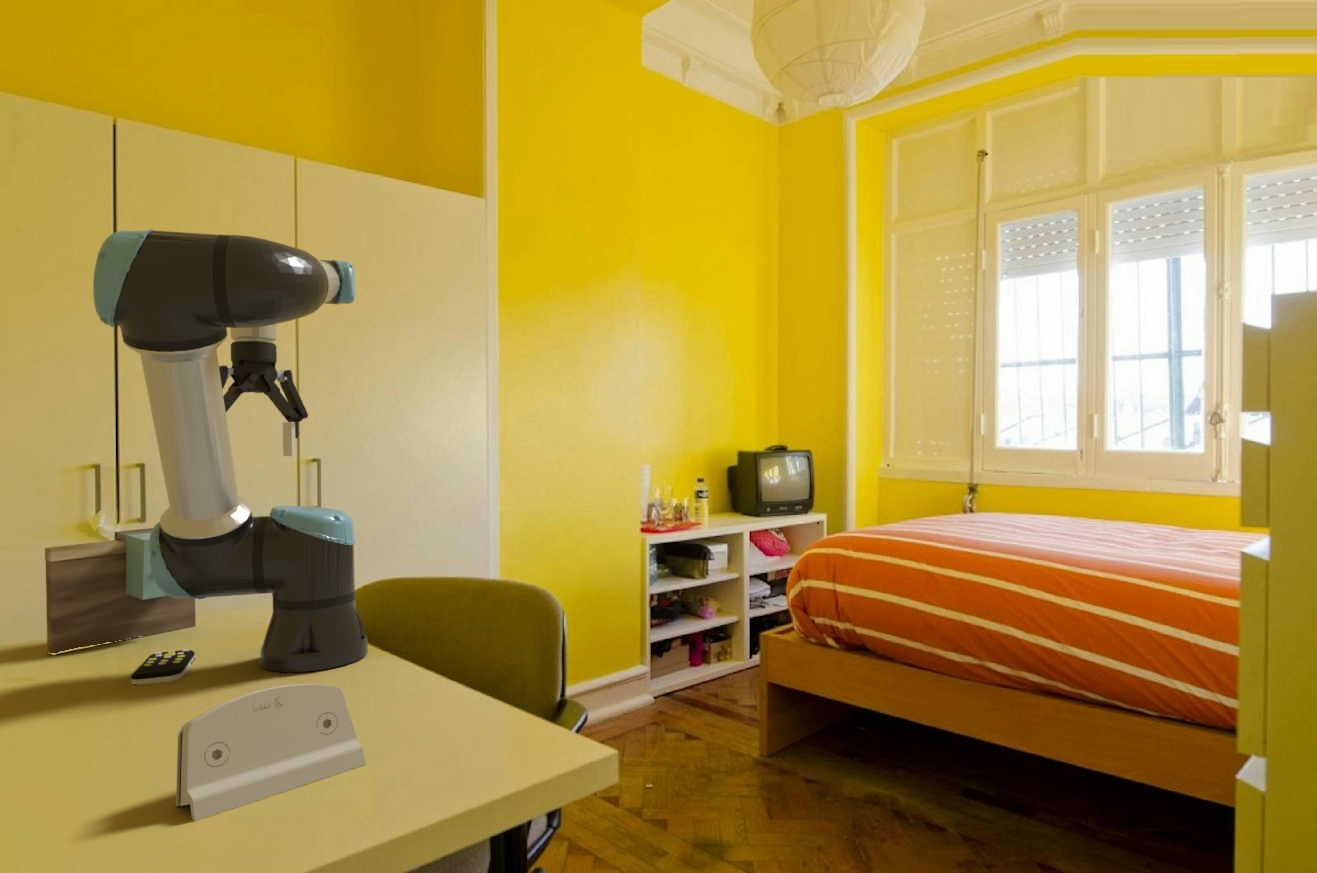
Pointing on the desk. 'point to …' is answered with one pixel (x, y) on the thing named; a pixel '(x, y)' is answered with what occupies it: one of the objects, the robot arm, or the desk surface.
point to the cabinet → (139, 564)
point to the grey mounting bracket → (264, 747)
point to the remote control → (163, 667)
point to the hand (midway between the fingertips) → (255, 457)
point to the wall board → (102, 599)
